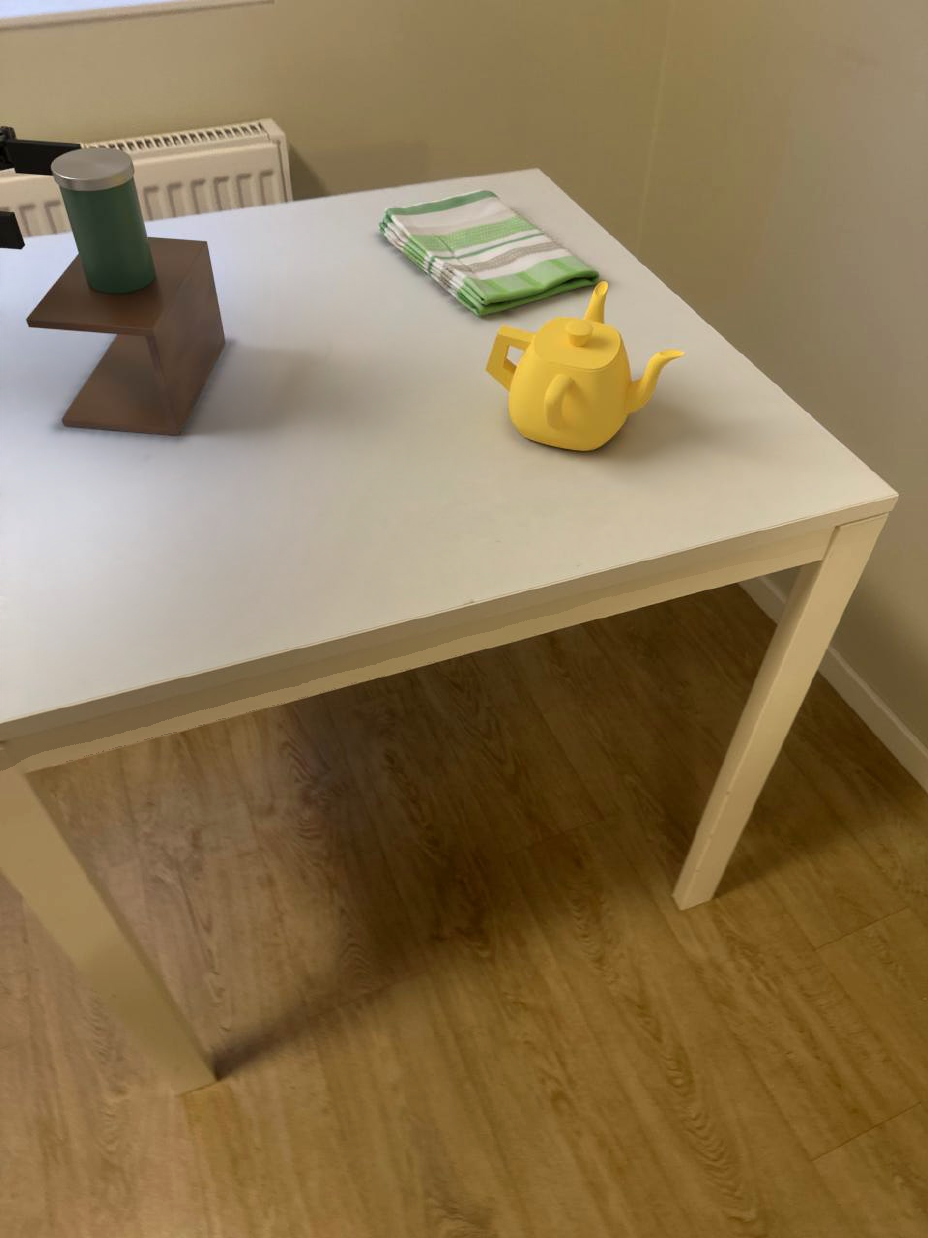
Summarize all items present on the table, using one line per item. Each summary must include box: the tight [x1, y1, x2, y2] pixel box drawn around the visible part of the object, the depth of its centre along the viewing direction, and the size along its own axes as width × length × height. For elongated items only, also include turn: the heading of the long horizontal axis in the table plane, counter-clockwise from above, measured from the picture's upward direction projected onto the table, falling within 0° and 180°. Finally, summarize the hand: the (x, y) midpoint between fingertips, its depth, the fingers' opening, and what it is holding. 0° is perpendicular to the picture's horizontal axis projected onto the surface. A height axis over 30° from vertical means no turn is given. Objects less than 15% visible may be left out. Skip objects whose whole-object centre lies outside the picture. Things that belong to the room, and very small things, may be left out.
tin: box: [51, 146, 156, 294], centre depth 80 cm, size 6×6×10 cm
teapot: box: [484, 280, 685, 452], centre depth 86 cm, size 14×13×10 cm
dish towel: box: [377, 189, 600, 317], centre depth 109 cm, size 17×23×4 cm
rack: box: [25, 236, 227, 437], centre depth 88 cm, size 16×11×11 cm
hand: (52, 193), depth 79 cm, fingers open, 13 cm apart
